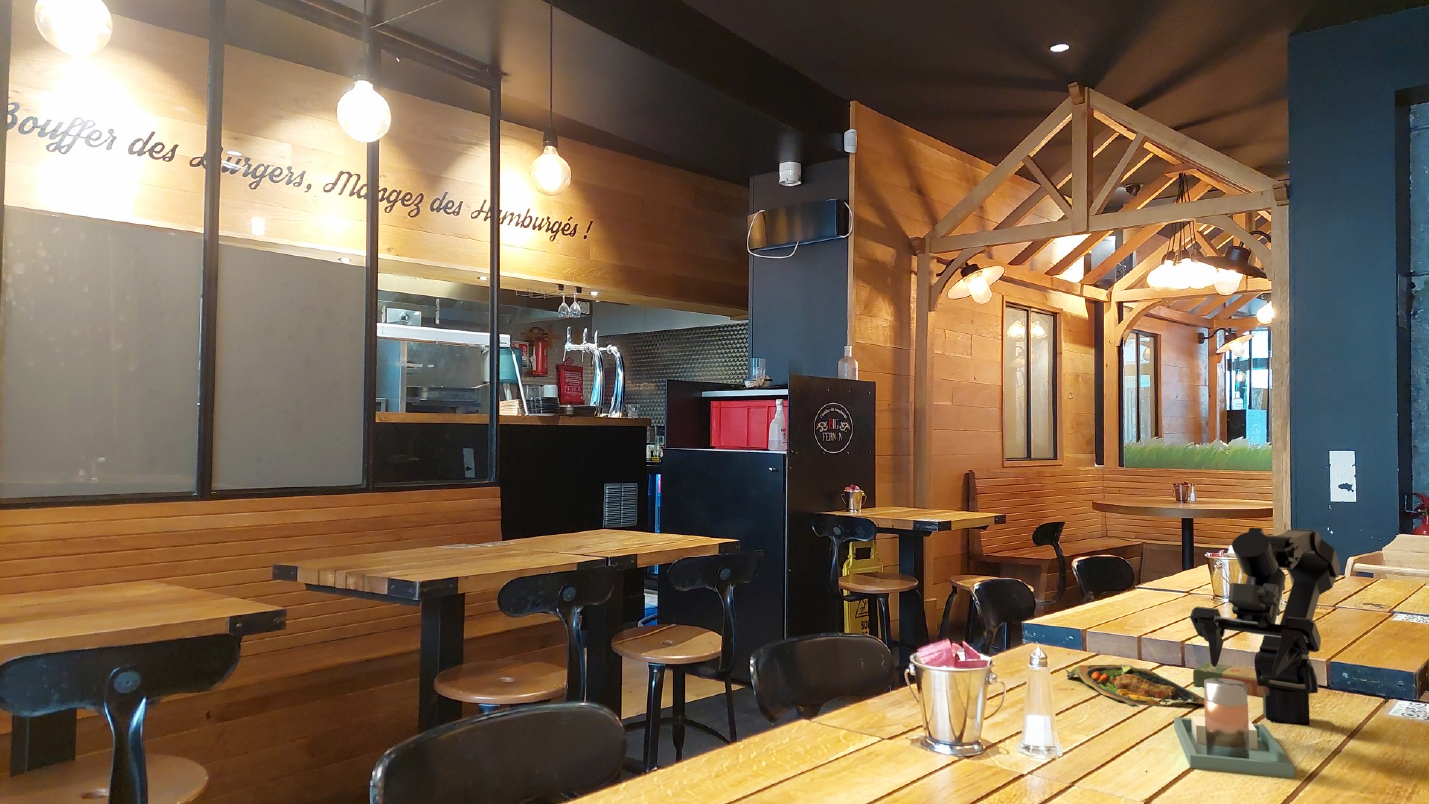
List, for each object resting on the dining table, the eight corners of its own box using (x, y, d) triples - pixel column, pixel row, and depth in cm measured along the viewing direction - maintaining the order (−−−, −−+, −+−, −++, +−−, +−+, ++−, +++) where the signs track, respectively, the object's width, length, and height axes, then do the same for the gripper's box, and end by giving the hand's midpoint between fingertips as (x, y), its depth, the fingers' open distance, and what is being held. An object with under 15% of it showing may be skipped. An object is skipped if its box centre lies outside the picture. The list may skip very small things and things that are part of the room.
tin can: (1231, 751, 155) (1229, 677, 155) (1259, 764, 149) (1256, 686, 149) (1197, 754, 154) (1195, 679, 154) (1223, 767, 148) (1221, 689, 148)
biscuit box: (1250, 738, 162) (1250, 720, 162) (1257, 749, 156) (1257, 730, 157) (1191, 733, 165) (1191, 715, 165) (1196, 743, 159) (1196, 725, 160)
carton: (1279, 702, 188) (1278, 680, 189) (1192, 688, 200) (1191, 667, 200) (1290, 694, 194) (1289, 673, 195) (1205, 680, 206) (1205, 660, 206)
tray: (1264, 739, 164) (1264, 724, 164) (1294, 782, 143) (1293, 765, 143) (1174, 731, 168) (1174, 717, 168) (1190, 771, 148) (1190, 755, 148)
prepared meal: (1220, 690, 184) (1133, 692, 182) (1220, 709, 184) (1134, 711, 181) (1136, 663, 212) (1060, 664, 209) (1136, 679, 212) (1060, 680, 209)
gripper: (1192, 560, 169) (1170, 632, 161) (1313, 569, 155) (1295, 649, 147) (1209, 599, 174) (1189, 671, 166) (1328, 612, 161) (1312, 691, 152)
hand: (1243, 670), depth 158 cm, fingers open, 9 cm apart
